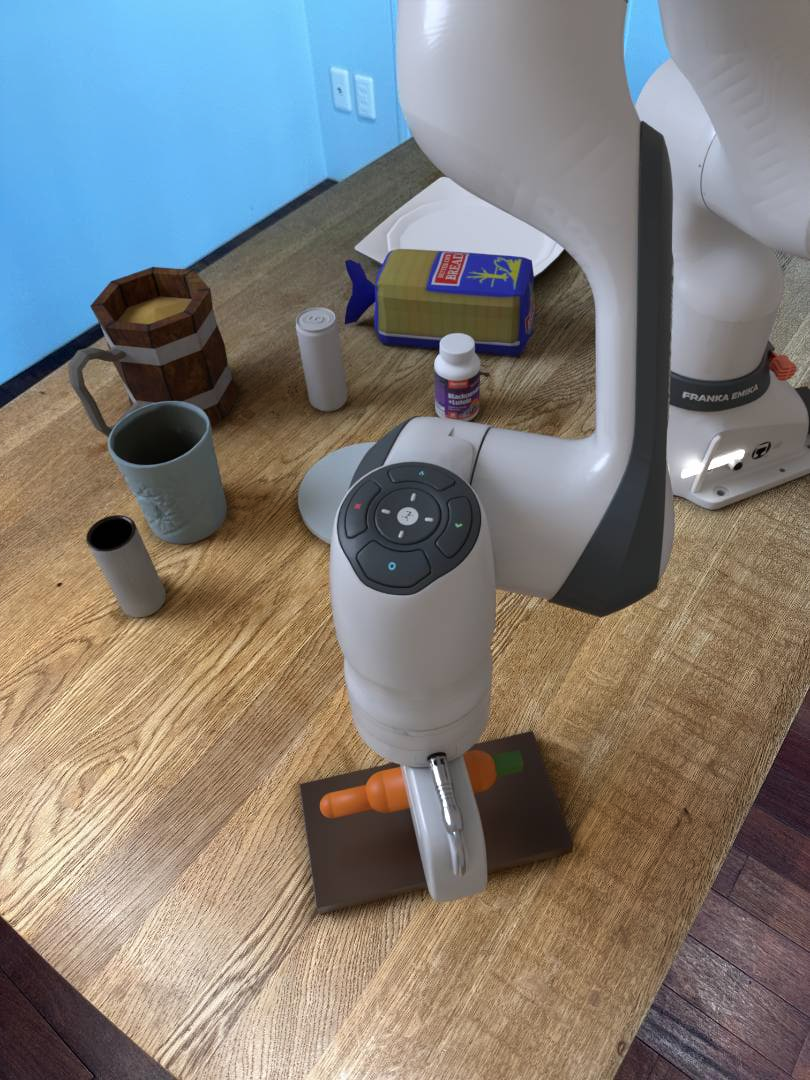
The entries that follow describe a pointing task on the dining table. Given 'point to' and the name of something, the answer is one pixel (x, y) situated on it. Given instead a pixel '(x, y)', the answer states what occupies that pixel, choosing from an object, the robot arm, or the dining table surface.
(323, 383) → the beverage can
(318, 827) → the cutting board
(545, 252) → the plate
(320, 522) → the side plate
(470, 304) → the bread
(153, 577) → the grey hollow cylinder
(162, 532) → the blue cup
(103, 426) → the mug
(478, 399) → the pill bottle
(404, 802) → the carrot
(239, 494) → the dining table surface
